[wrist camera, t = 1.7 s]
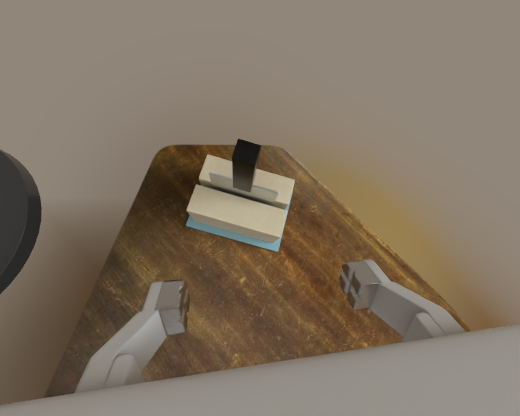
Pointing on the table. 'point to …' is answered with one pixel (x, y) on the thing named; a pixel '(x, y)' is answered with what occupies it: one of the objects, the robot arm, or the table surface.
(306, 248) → the table surface
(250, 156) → the slider knob post
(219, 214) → the slide lever switch
